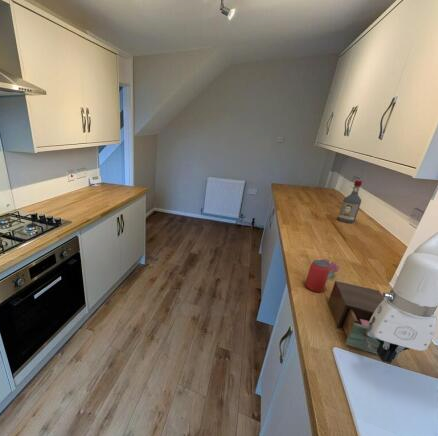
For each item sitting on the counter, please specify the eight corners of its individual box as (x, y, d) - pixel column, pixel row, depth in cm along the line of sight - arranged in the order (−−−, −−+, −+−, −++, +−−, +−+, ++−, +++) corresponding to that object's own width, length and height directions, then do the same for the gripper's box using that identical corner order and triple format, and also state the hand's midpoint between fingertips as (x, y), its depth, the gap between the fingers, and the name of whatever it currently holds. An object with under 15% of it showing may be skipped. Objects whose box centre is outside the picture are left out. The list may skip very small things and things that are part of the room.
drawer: (403, 372, 64) (414, 351, 61) (350, 355, 69) (359, 335, 66) (377, 327, 79) (386, 308, 76) (336, 315, 84) (342, 297, 81)
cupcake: (339, 281, 104) (348, 257, 100) (318, 278, 106) (325, 255, 102) (330, 270, 112) (337, 248, 108) (310, 268, 114) (317, 246, 110)
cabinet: (385, 341, 74) (397, 317, 71) (337, 327, 80) (345, 304, 76) (369, 312, 87) (378, 290, 83) (328, 301, 92) (335, 280, 89)
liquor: (340, 217, 182) (352, 179, 172) (354, 221, 176) (368, 181, 165) (336, 220, 177) (348, 180, 166) (351, 224, 170) (365, 183, 160)
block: (372, 334, 75) (377, 323, 73) (377, 344, 71) (383, 333, 69) (355, 329, 77) (359, 318, 75) (359, 339, 73) (364, 328, 71)
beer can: (304, 281, 104) (311, 257, 100) (322, 286, 101) (330, 261, 97) (304, 289, 99) (312, 264, 95) (323, 294, 96) (332, 269, 91)
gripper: (377, 302, 57) (352, 358, 63) (466, 324, 51) (430, 382, 57) (366, 285, 63) (345, 337, 70) (444, 302, 57) (413, 357, 64)
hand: (383, 357), depth 63 cm, fingers closed
